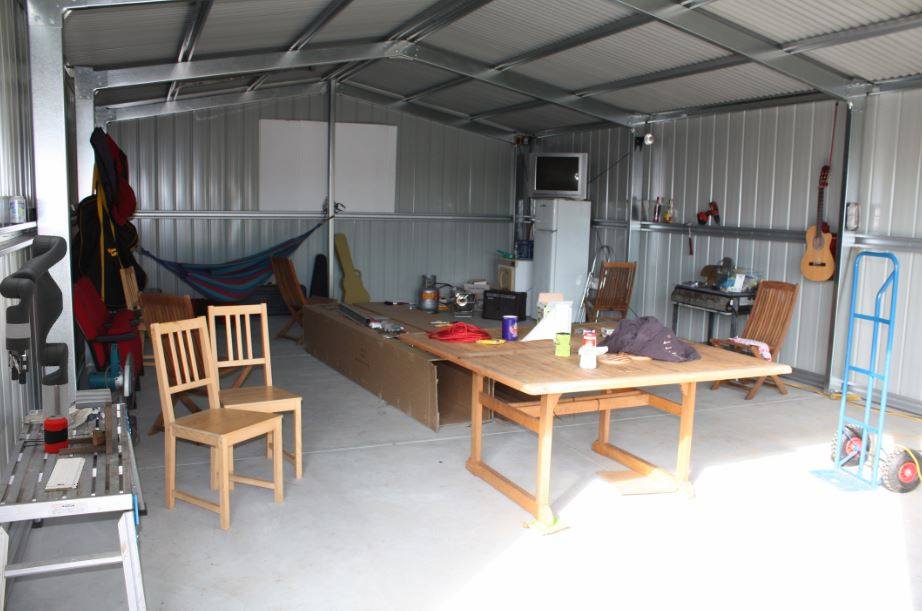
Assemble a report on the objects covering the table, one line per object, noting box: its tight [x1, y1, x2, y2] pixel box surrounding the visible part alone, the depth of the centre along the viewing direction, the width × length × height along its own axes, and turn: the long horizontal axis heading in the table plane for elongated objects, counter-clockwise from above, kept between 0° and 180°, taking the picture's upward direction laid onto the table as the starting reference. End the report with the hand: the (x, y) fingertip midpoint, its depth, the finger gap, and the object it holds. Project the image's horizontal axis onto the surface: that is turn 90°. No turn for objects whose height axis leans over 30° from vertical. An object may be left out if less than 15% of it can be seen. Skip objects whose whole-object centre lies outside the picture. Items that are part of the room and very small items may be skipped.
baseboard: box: [44, 457, 86, 492], centre depth 254 cm, size 30×3×10 cm
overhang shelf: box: [58, 388, 113, 456], centre depth 281 cm, size 20×17×19 cm
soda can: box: [43, 415, 69, 454], centre depth 278 cm, size 8×8×12 cm
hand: (18, 382), depth 271 cm, fingers open, 8 cm apart
